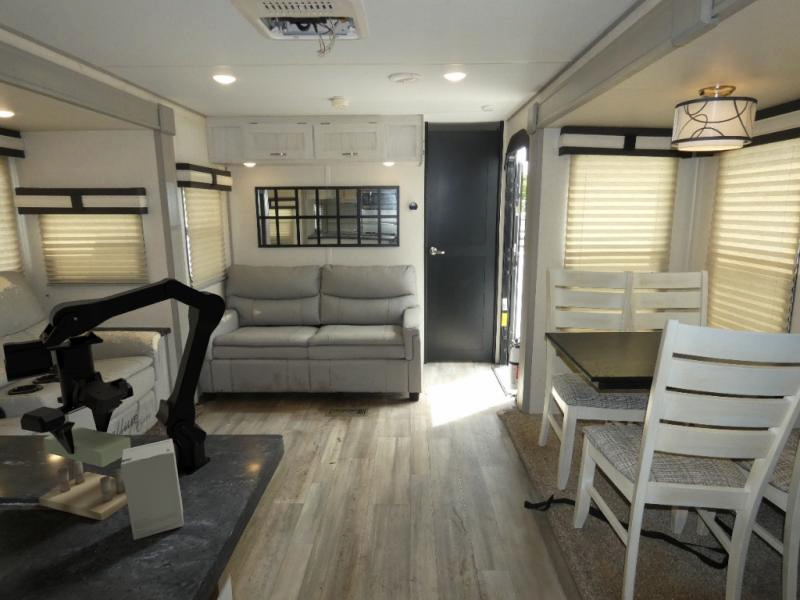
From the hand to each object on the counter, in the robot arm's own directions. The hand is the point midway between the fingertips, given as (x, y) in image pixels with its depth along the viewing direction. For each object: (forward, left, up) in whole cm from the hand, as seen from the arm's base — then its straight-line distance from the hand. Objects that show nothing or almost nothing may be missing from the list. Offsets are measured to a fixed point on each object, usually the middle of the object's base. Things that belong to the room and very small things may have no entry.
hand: (87, 446), depth 93 cm
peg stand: (0, 0, -11) cm, 11 cm away
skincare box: (-19, +3, -11) cm, 22 cm away
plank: (0, 0, -1) cm, 1 cm away
